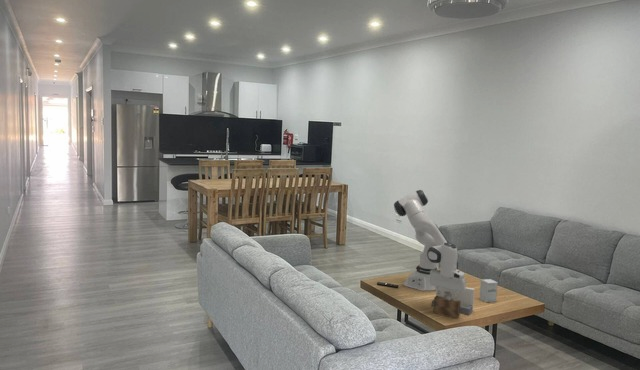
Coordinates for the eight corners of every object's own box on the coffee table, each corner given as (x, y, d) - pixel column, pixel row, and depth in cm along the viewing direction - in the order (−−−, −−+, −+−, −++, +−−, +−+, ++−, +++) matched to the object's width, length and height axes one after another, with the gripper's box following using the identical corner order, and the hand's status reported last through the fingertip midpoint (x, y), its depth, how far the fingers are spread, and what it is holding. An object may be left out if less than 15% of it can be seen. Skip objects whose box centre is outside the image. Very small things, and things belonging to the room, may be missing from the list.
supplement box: (486, 302, 288) (487, 282, 286) (479, 298, 295) (480, 279, 293) (496, 302, 290) (498, 282, 288) (489, 298, 297) (490, 278, 295)
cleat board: (431, 306, 277) (433, 285, 276) (436, 302, 285) (438, 281, 284) (469, 314, 266) (470, 292, 264) (473, 310, 273) (474, 288, 272)
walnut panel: (433, 312, 268) (434, 290, 266) (435, 310, 271) (436, 288, 270) (457, 318, 260) (459, 295, 259) (459, 316, 264) (461, 293, 262)
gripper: (428, 269, 266) (426, 292, 268) (464, 276, 255) (462, 300, 257) (432, 267, 272) (430, 290, 273) (467, 274, 260) (465, 297, 262)
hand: (446, 295), depth 265 cm, fingers open, 8 cm apart
